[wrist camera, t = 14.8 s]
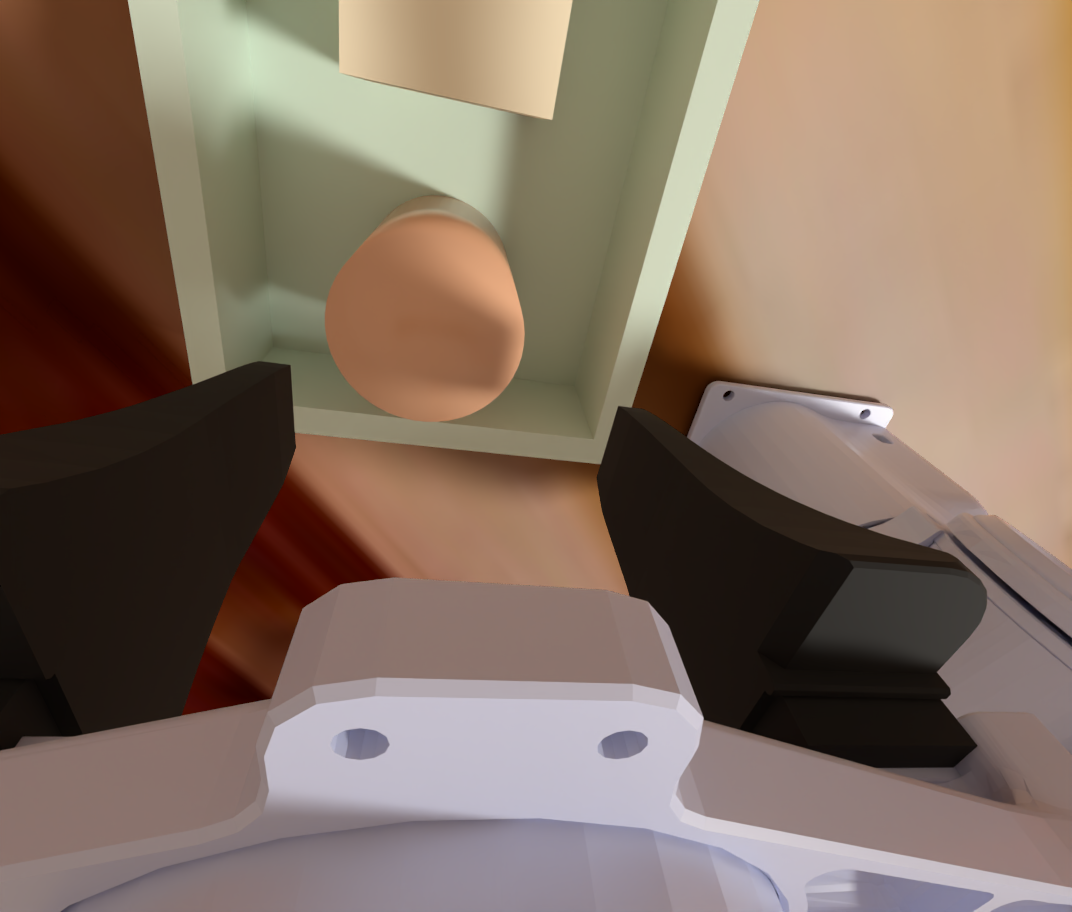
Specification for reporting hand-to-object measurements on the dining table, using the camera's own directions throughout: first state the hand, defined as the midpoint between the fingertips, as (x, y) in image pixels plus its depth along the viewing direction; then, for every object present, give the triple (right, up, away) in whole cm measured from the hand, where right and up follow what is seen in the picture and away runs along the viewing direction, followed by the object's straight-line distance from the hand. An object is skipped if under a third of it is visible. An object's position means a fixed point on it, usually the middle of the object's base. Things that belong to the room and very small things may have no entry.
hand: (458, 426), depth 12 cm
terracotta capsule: (-2, +6, +8) cm, 10 cm away
